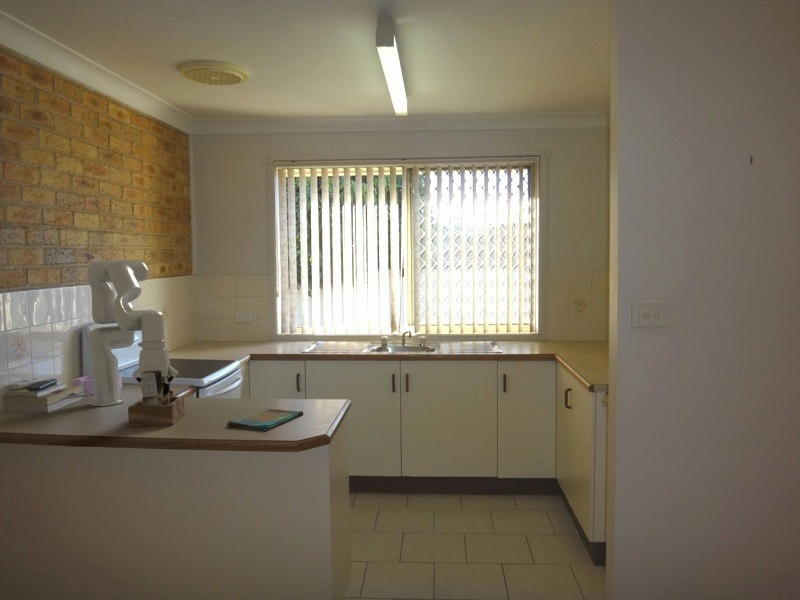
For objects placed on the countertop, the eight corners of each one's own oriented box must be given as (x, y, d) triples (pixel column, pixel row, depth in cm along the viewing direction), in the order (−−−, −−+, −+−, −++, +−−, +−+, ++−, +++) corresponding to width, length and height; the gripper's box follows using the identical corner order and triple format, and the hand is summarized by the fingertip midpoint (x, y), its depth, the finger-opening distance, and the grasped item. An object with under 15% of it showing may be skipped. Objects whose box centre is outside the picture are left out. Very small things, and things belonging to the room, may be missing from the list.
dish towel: (225, 428, 212) (224, 421, 212) (266, 412, 234) (266, 406, 233) (266, 433, 205) (265, 425, 205) (304, 416, 226) (304, 409, 226)
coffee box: (160, 417, 219) (158, 372, 218) (142, 417, 219) (140, 372, 218) (170, 410, 228) (168, 367, 227) (153, 411, 228) (151, 367, 227)
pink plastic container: (112, 386, 293) (111, 371, 292) (127, 388, 286) (126, 374, 285) (69, 394, 276) (68, 379, 276) (84, 397, 269) (83, 381, 269)
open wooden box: (143, 416, 230) (142, 398, 230) (184, 414, 232) (183, 396, 231) (129, 427, 216) (127, 407, 215) (172, 425, 217) (171, 405, 216)
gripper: (125, 348, 218) (127, 397, 219) (175, 346, 219) (177, 396, 220) (132, 345, 225) (135, 393, 226) (181, 343, 226) (183, 391, 227)
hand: (156, 394), depth 223 cm, fingers closed on coffee box, 6 cm apart
